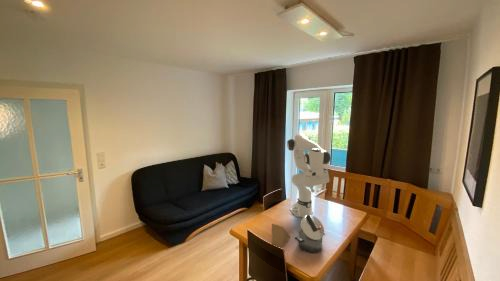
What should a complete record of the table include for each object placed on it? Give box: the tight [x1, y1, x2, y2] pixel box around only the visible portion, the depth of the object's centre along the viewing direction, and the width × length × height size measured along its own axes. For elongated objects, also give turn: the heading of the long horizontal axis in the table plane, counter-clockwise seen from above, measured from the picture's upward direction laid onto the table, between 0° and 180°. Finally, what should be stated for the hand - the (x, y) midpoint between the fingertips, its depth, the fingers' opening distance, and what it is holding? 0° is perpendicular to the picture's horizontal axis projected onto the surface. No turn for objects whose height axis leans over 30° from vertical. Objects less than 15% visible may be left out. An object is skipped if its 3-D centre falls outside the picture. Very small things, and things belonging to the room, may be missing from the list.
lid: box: [300, 215, 325, 241], centre depth 142 cm, size 17×17×3 cm
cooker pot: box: [294, 229, 326, 254], centre depth 146 cm, size 16×22×9 cm
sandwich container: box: [271, 223, 291, 248], centre depth 153 cm, size 9×15×15 cm, turn 148°
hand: (317, 190), depth 148 cm, fingers open, 8 cm apart
